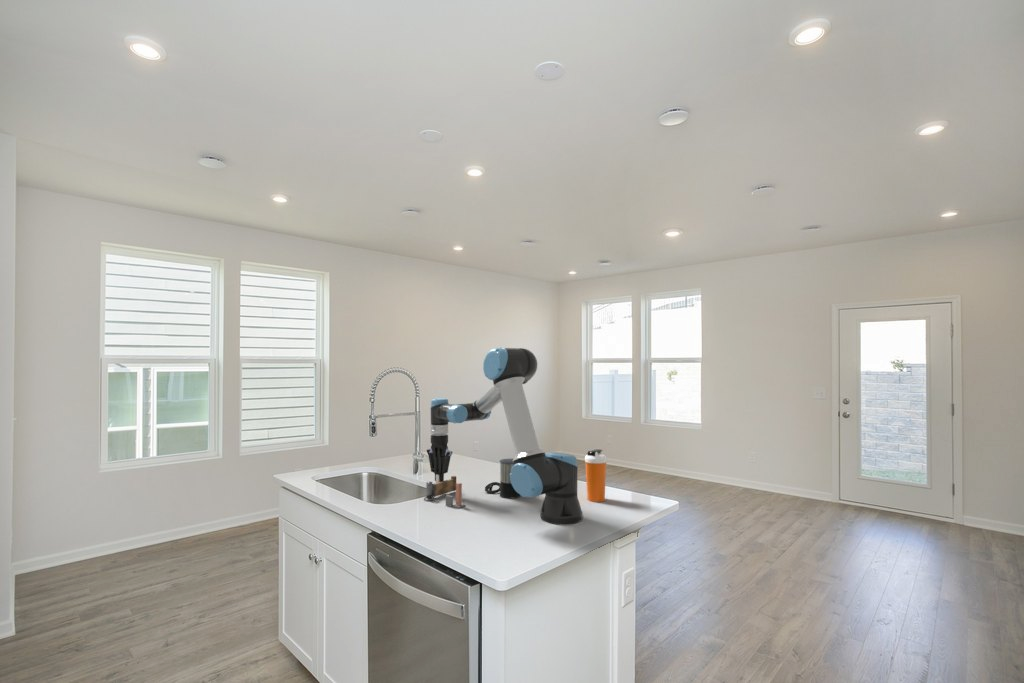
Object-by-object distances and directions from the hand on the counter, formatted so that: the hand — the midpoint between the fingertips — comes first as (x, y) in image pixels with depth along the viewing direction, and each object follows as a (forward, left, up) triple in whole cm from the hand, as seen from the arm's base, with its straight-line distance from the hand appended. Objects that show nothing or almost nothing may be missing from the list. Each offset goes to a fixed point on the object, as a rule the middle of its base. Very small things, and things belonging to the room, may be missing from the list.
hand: (439, 489), depth 214 cm
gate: (-4, +1, -1) cm, 4 cm away
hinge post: (-4, +10, -2) cm, 11 cm away
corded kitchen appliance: (-23, -15, -2) cm, 28 cm away
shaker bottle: (-59, -31, -2) cm, 67 cm away
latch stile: (-19, +10, -2) cm, 21 cm away
